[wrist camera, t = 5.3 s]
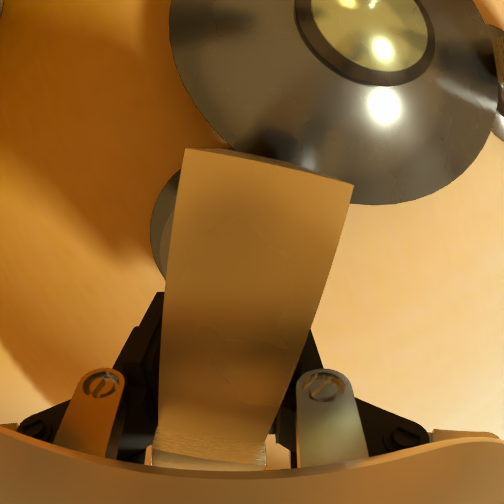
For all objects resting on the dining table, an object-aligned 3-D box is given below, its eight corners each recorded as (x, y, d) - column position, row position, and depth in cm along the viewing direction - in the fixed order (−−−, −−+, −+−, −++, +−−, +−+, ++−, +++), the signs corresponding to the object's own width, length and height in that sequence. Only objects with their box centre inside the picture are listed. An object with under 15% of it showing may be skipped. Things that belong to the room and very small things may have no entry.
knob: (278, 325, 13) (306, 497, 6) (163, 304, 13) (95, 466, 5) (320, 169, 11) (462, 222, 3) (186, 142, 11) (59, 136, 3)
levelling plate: (391, 381, 16) (412, 421, 13) (0, 194, 12) (-44, 210, 8) (544, 86, 10) (580, 86, 6) (205, -126, 5) (200, -159, 2)
